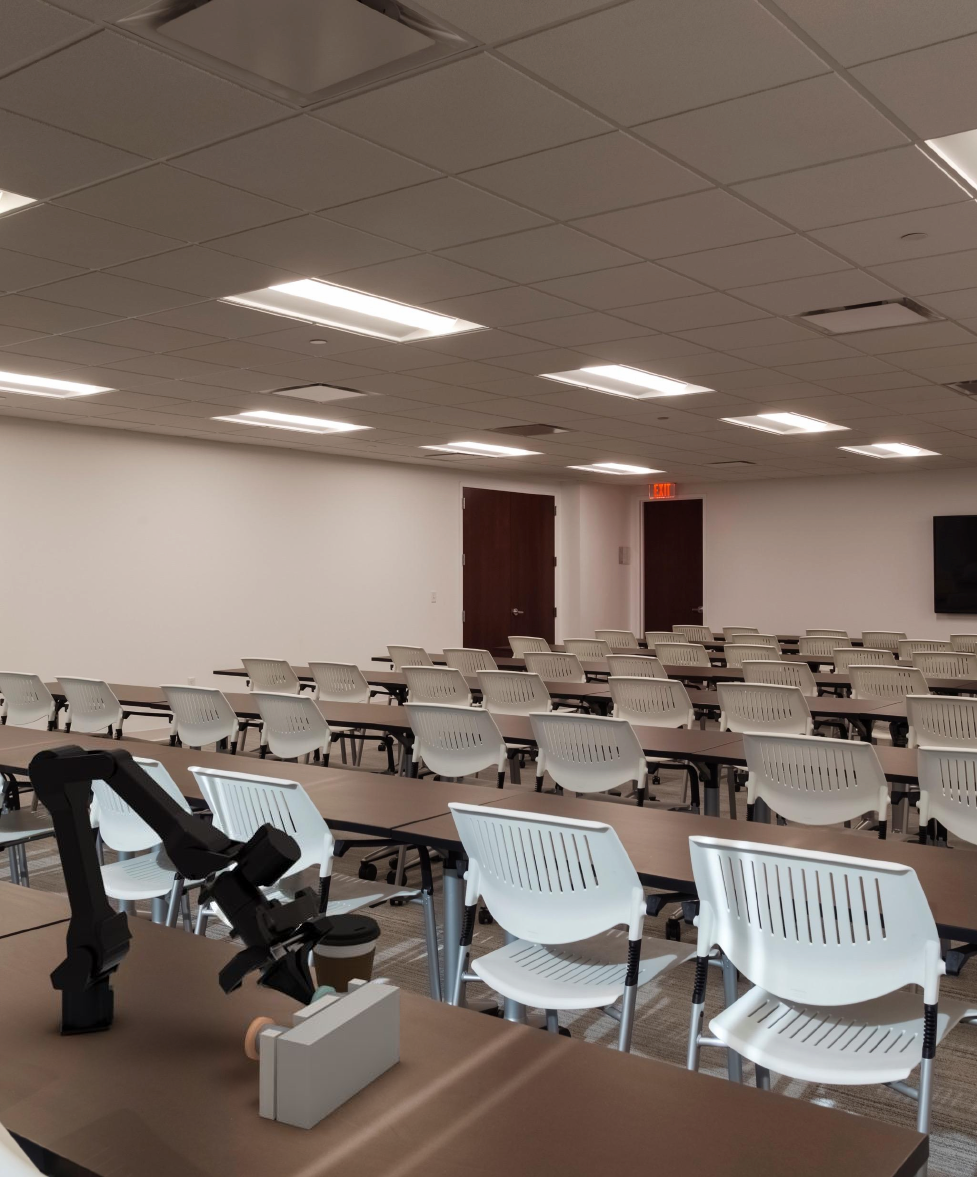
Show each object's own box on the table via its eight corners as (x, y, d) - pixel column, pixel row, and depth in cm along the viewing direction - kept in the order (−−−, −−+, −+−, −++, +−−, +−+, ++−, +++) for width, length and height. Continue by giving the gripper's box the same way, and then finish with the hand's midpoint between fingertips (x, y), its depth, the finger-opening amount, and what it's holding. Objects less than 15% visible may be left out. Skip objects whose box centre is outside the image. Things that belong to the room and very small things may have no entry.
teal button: (309, 1029, 138) (309, 992, 138) (330, 1016, 142) (331, 980, 142) (341, 1036, 136) (342, 999, 136) (362, 1023, 140) (362, 986, 140)
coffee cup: (395, 1003, 158) (396, 923, 158) (337, 1025, 150) (338, 940, 150) (348, 985, 166) (349, 908, 166) (291, 1004, 158) (291, 923, 158)
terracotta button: (244, 1064, 127) (244, 1024, 127) (269, 1049, 132) (269, 1010, 132) (278, 1073, 125) (278, 1032, 125) (302, 1057, 129) (303, 1018, 130)
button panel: (259, 1115, 124) (259, 1033, 124) (354, 1050, 142) (354, 978, 142) (308, 1129, 121) (309, 1045, 121) (399, 1060, 139) (399, 987, 139)
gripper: (236, 889, 133) (309, 992, 128) (322, 856, 150) (389, 946, 145) (187, 943, 137) (256, 1045, 132) (276, 905, 153) (341, 994, 149)
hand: (314, 1004), depth 139 cm, fingers closed, pressing on teal button
